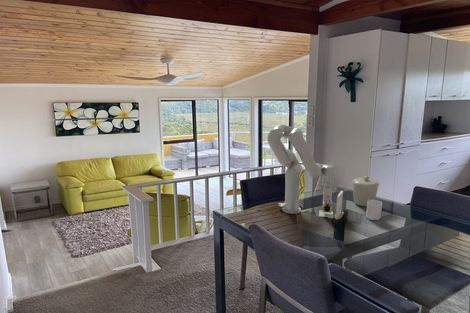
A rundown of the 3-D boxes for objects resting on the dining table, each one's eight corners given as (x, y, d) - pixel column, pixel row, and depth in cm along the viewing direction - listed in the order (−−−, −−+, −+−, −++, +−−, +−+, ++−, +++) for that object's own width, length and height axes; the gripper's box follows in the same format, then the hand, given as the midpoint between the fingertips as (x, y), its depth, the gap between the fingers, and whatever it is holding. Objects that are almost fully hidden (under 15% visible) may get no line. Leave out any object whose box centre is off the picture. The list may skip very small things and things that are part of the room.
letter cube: (322, 211, 220) (322, 203, 218) (322, 208, 226) (322, 200, 224) (331, 212, 218) (332, 204, 217) (331, 209, 224) (332, 200, 223)
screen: (332, 218, 218) (334, 195, 213) (337, 212, 227) (338, 190, 223) (339, 220, 215) (341, 196, 211) (343, 213, 225) (345, 191, 220)
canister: (345, 203, 241) (347, 175, 236) (358, 197, 253) (360, 170, 247) (369, 211, 228) (372, 182, 223) (381, 204, 240) (384, 176, 234)
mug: (380, 222, 212) (382, 206, 209) (365, 219, 216) (366, 203, 213) (380, 214, 223) (382, 199, 220) (366, 212, 226) (368, 197, 224)
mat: (318, 216, 220) (318, 215, 220) (319, 211, 228) (319, 210, 228) (333, 218, 218) (333, 217, 218) (332, 212, 226) (332, 211, 226)
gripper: (322, 179, 226) (321, 204, 231) (322, 187, 210) (321, 214, 215) (334, 179, 224) (332, 204, 229) (334, 188, 208) (333, 215, 213)
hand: (327, 209), depth 222 cm, fingers closed on letter cube, 6 cm apart
